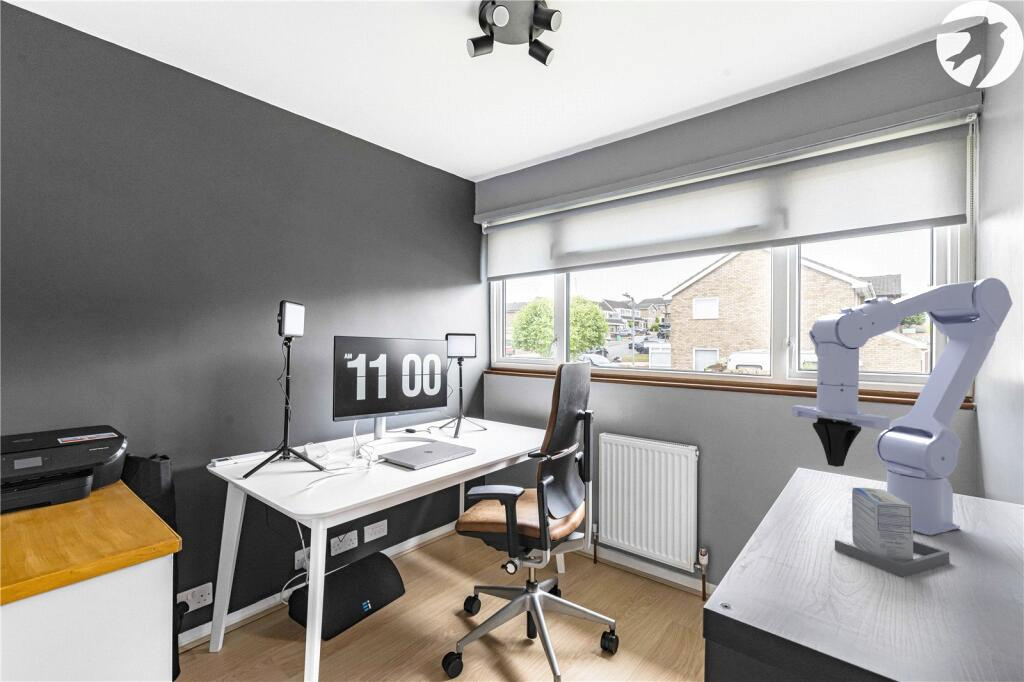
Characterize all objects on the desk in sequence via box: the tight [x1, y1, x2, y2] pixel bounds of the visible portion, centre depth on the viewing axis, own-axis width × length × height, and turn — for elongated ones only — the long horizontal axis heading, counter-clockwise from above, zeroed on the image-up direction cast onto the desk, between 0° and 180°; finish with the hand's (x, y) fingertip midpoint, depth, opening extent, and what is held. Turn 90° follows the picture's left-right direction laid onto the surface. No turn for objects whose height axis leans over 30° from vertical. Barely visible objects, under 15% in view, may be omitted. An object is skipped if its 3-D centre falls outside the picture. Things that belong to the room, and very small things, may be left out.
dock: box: [834, 538, 950, 578], centre depth 66 cm, size 11×9×2 cm
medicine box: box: [851, 487, 914, 563], centre depth 66 cm, size 8×4×9 cm, turn 164°
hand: (835, 465), depth 76 cm, fingers closed
